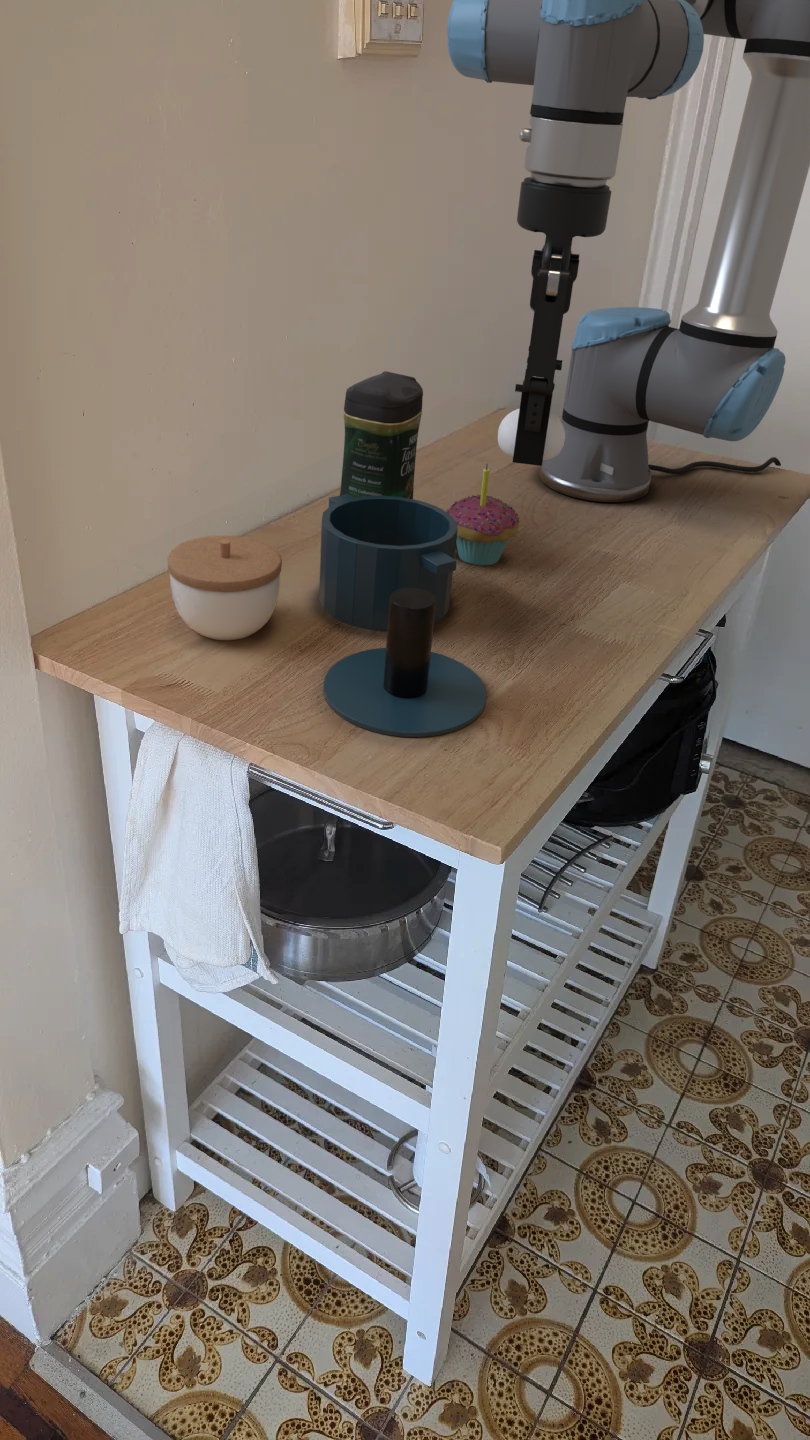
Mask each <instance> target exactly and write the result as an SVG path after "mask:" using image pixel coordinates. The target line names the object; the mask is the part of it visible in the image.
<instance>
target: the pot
mask: <svg viewBox="0 0 810 1440" xmlns="http://www.w3.org/2000/svg"><path fill="white" fill-rule="evenodd" d="M457 531H458V529H457V522H456V521H455V520H454V518H453V517H452V516H451V515H450V514H449V513H447V510H444V509H442V508H441V507H438V506H436V505H434V504H431V503H428V502H425V501H422V500H419V499H414V498H413V499H409V498H403V497H395V496H362V497H356V498H353V497H351V496H350V495H348V494H345V495H340V494H339V495H335V496H330V497H329V498H328V507H327V508H326V509H325V510H324V511H323V512H322V518H321V531H320V532H321V533H320V535H321V536H320V538H321V539H320V559H319V560H320V562H319V587H318V588H319V589H318V591H319V592H318V602H319V603H320V606H321V607H322V609H323V611H324V612H326V613H327V614H328V615H330V616H331V617H333V618H334V619H335V620H337V621H340V622H342V623H345V624H347V625H349V626H351V627H355V628H360V629H365V630H368V631H369V630H370V631H374V632H375V631H376V632H387V631H388V617H389V604H390V595H391V594H392V593H393V592H394V591H396V590H398V589H402V588H417V589H422V590H425V591H428V592H430V593H432V594H433V595H434V596H435V598H436V609H435V619H434V624H436V623H438V622H439V621H441V620H443V619H444V618H445V616H446V615H447V613H448V612H449V610H450V602H451V594H452V584H453V575H454V571H457V563H458V561H457V559H456V558H455V557H456V550H457V544H456V540H457Z"/></svg>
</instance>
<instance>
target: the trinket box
mask: <svg viewBox="0 0 810 1440" xmlns="http://www.w3.org/2000/svg"><path fill="white" fill-rule="evenodd" d="M282 565H283V560H282V556H281V554H280V553H279V551H278V550H277V549H276V548H275V547H274V546H272V545H271V544H268V543H266V542H264V541H262V540H258V539H255V538H252V537H246V536H239V535H226V534H224V535H222V534H219V535H218V534H217V535H208V536H201V537H195V538H191V539H189V540H186V541H183V542H181V543H179V544H178V545H176V546H175V547H174V548H173V549H171V550H170V552H169V554H168V555H167V570H168V573H169V586H170V592H171V597H172V600H173V604H174V607H175V610H176V611H177V613H178V615H179V617H180V618H181V620H182V621H183V622H184V623H185V624H186V625H187V626H188V628H191V630H192V631H194V632H195V633H197V634H198V635H200V636H203V637H205V638H207V639H211V640H216V641H235V640H236V641H237V640H241V639H245V638H247V637H250V636H252V635H253V634H255V633H257V632H258V631H259V630H261V629H262V628H263V627H264V626H265V625H266V624H267V623H268V622H269V620H270V619H271V617H272V616H273V614H274V611H275V609H276V607H277V603H278V599H279V595H280V587H281V572H282Z"/></svg>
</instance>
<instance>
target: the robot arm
mask: <svg viewBox="0 0 810 1440" xmlns="http://www.w3.org/2000/svg"><path fill="white" fill-rule="evenodd" d="M446 29H447V40H446V41H447V42H446V44H447V52H448V55H449V59H450V61H451V63H452V66H453V67H454V69H455V70H456V71H457V72H458V73H459V74H460V75H461V76H463V77H466V78H471V79H476V80H481V81H485V83H487V84H491V83H493V82H494V83H495V82H496V83H505V84H514V85H515V84H516V85H524V86H533V88H532V89H533V90H532V99H531V104H530V110H529V115H530V117H529V121H528V122H529V123H528V124H529V126H530V127H531V128H526V127H525V128H522V129H521V130H520V132H519V138H518V139H519V140H520V141H521V142H523V143H530V144H529V145H528V146H526V148H525V155H524V161H523V162H524V163H523V167H524V169H525V171H527V173H530V176H528V177H525V178H524V179H523V181H521V183H520V190H519V199H518V207H517V215H516V223H517V225H518V226H519V227H520V228H522V229H524V230H526V231H529V232H533V233H543V234H544V235H545V240H544V245H543V247H541V250H539V249H534V250H533V255H532V262H531V268H530V269H531V270H530V275H531V277H532V284H531V292H530V299H529V308H530V309H531V310H532V311H533V317H532V318H533V319H532V326H531V333H530V341H529V346H528V355H527V358H526V368H525V373H524V379H523V380H522V384H520V383H519V384H518V383H516V384H515V387H514V392H516V393H521V394H520V396H521V397H520V404H519V408H520V410H519V417H518V425H517V432H516V440H515V447H514V455H513V457H512V463H513V464H522V465H530V466H531V465H532V466H539V467H540V468H539V479H540V481H541V482H542V483H543V484H544V485H546V487H548V488H550V489H551V490H554V492H558V493H559V494H563V495H565V496H569V497H573V498H576V499H580V500H586V501H592V502H600V503H623V502H624V503H625V502H630V501H631V502H632V501H635V500H638V499H641V498H643V497H645V496H646V495H647V494H648V493H649V489H650V485H651V481H652V473H651V471H655V472H660V473H665V474H669V475H679V474H683V473H685V472H687V471H689V470H691V469H695V468H699V467H710V468H711V467H712V468H718V469H725V470H731V471H735V472H744V473H757V472H761V471H764V470H765V469H766V468H768V467H769V466H771V465H772V464H773V463H774V465H775V466H777V467H781V466H782V463H781V461H780V460H779V459H778V458H777V457H775V456H773V457H770V458H769V459H767V460H766V461H765V462H764V463H762V464H760V465H758V466H743V465H736V464H731V463H725V462H720V461H712V460H710V461H709V460H701V461H700V460H699V461H694V462H691V463H688V464H686V465H684V466H682V467H678V468H670V467H665V466H661V465H654V464H649V451H648V449H649V448H648V440H647V439H648V437H647V435H648V434H647V433H648V428H649V422H652V423H657V424H660V425H661V424H662V425H665V426H668V427H672V428H675V429H679V430H683V431H686V432H689V433H694V434H697V435H701V436H703V437H704V438H705V439H711V438H712V439H717V440H723V441H726V442H727V441H728V442H738V441H742V440H743V439H745V438H747V437H748V436H750V435H751V434H752V433H753V431H755V430H756V428H757V427H758V426H759V424H760V423H761V422H762V420H763V419H764V417H765V416H766V414H767V412H768V411H769V409H770V407H771V405H772V403H773V401H774V399H775V397H776V395H777V393H778V391H779V388H780V386H781V382H782V381H783V376H784V372H785V365H786V362H787V361H786V360H787V359H786V354H785V353H784V352H783V351H781V350H780V349H779V348H777V347H775V344H776V341H777V337H778V333H779V331H778V329H777V328H776V325H775V324H774V322H773V320H772V318H771V315H770V313H771V310H772V306H773V303H774V298H775V295H776V292H777V289H778V284H779V280H780V277H781V273H782V269H783V265H784V261H785V260H786V259H785V258H786V254H787V251H788V247H789V243H790V240H791V237H792V233H793V229H794V225H795V222H796V218H797V214H798V210H799V207H800V203H801V200H802V196H803V192H804V188H805V185H806V181H807V177H808V174H809V170H810V0H453V1H452V4H451V7H450V9H449V14H448V19H447V25H446ZM705 35H708V36H713V37H714V36H715V37H720V38H721V37H722V38H728V39H729V38H731V39H737V40H746V41H745V45H744V49H743V53H742V60H743V61H744V63H745V64H746V66H747V68H748V70H749V71H750V76H751V79H750V84H749V88H748V92H747V96H746V100H745V105H744V109H743V112H742V113H743V114H742V117H741V122H740V125H739V131H738V134H737V137H736V138H737V139H736V142H735V146H734V150H733V155H732V160H731V163H730V167H729V172H728V176H727V180H726V184H725V189H724V193H723V196H722V200H721V206H720V209H719V214H718V216H717V217H718V218H717V222H716V226H715V231H714V235H713V237H712V244H711V247H710V251H709V256H708V259H707V265H706V268H705V271H704V276H703V280H702V285H701V288H700V293H699V297H698V301H697V303H696V305H695V306H693V307H692V308H691V309H689V310H688V311H687V312H685V313H684V314H683V315H682V316H681V319H680V324H679V328H676V327H672V326H670V324H671V323H672V320H671V315H670V313H669V312H668V311H666V310H662V309H659V308H652V307H641V306H639V307H638V306H628V307H627V306H626V307H625V306H622V307H621V306H620V307H619V306H618V307H605V308H599V309H593V310H590V311H587V312H585V313H584V314H583V315H582V316H581V317H580V318H579V319H578V321H577V324H576V328H575V334H574V337H573V341H572V344H571V345H570V346H571V347H570V350H571V353H570V360H569V367H568V373H567V381H566V386H565V393H564V401H563V405H562V407H563V408H562V414H561V419H560V421H561V422H562V424H563V426H564V430H565V442H564V446H563V448H562V450H561V452H560V453H559V454H558V455H557V456H556V457H554V458H552V459H549V460H545V461H543V455H544V448H545V442H546V435H547V428H548V422H549V415H550V412H551V408H552V402H553V401H552V400H553V394H554V390H555V385H556V384H555V382H554V380H555V375H556V371H562V366H563V360H562V359H558V355H559V354H558V353H559V347H560V342H561V341H560V340H561V334H562V325H563V320H564V315H565V314H567V313H568V312H569V311H570V307H571V300H572V293H573V286H574V283H575V282H576V280H577V278H578V275H579V267H580V254H578V253H573V251H572V245H573V239H574V238H575V237H581V238H593V237H598V236H600V235H602V234H603V233H604V232H605V230H606V229H607V228H606V227H607V221H608V215H609V209H610V204H611V198H612V190H611V189H610V188H611V187H610V186H609V185H607V181H609V180H611V179H613V178H614V177H615V176H616V172H617V171H616V170H617V165H618V160H619V159H618V158H619V152H620V147H621V140H622V134H623V126H624V124H623V121H624V115H625V109H626V104H627V98H639V99H647V100H649V101H650V100H656V99H657V98H659V97H665V96H669V95H671V94H674V93H676V92H677V91H679V90H681V88H683V87H684V86H685V85H686V84H687V83H688V82H689V81H690V80H691V78H692V77H693V76H694V74H695V72H696V71H697V69H698V67H699V65H700V62H701V59H702V55H703V52H704V46H705V45H704V43H705ZM538 377H542V378H538Z"/></svg>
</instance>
